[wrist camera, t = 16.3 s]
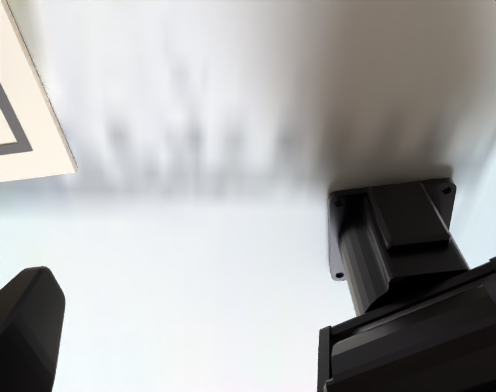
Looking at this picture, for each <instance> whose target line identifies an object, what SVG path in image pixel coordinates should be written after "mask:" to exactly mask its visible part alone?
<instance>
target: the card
mask: <svg viewBox="0 0 496 392" xmlns="http://www.w3.org/2000/svg"><path fill="white" fill-rule="evenodd" d="M77 168H78V167H77V165H76V163H75V160H74V158H73V156H72V153H71V151H70V149H69V146H68V144H67V142H66V139H65V137H64V135H63V132H62V130H61V128H60V125H59V123H58V121H57V118H56V116H55V114H54V111H53V109H52V107H51V104H50V102H49V100H48V97H47V95H46V93H45V90H44V88H43V86H42V83H41V81H40V79H39V76H38V74H37V72H36V69H35V67H34V65H33V62H32V60H31V58H30V55H29V53H28V51H27V48H26V46H25V44H24V41H23V39H22V37H21V35H20V32H19V30H18V28H17V25H16V23H15V21H14V18H13V16H12V14H11V11H10V9H9V7H8V4H7V2H6V0H0V182H5V181H13V180H20V179H28V178H36V177H44V176H52V175H60V174H68V173H76V171H77Z"/></svg>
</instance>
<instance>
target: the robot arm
mask: <svg viewBox="0 0 496 392" xmlns="http://www.w3.org/2000/svg"><path fill="white" fill-rule="evenodd" d="M444 187H448V188H446V189H444V190H442V189H443V188H444ZM455 194H456V185H455V184H454V182H453V181H452V180H451V179H449V178H442V179H434V180H425V181H417V182H409V183H401V184H392V185H384V186H376V187H367V188H359V189H351V190H343V191H336V192H333V193H332V194H330V196H329V198H328V216H329V251H330V273H331V277H332V279H333V280H335V281H344V280H347V282H348V286H349V290H350V294H351V297H352V301H353V305H354V309H355V312H356V316H357V317H354V318H352V319H350V320H347V321H345V322H342V323H340V324H338V325H335V326H333V327H331V326H327V327H325V328H323V329H320V331H319V347H318V381H317V392H496V257H494V258H491V259H489V261H490V262H487V263H485V264H483V265H480V266H478V267H475V268H473V269H470V268H469V266H468V264H467V262H466V261H465V259H464V257H463V255H462V253H461V252H460V250H459V248H458V246H457V244H456V243H455V241H454V239H453V237H452V236H451V234H450V232H449V227H450V221H451V216H452V211H453V205H454V200H455ZM336 200H341V201H340V202H335V201H336ZM339 272H341V273H339ZM64 312H65V296H64V293H63V291H62V289H61V288H60V286H59V284H58V282H57V281H56V279H55V277H54V275H53V274H52V272H51V270H50V269H49V268H48V267H45V266H40V267H31V268H26V269H24V270H22V271H21V272H20V273H19V274H18V275H16V276H15V277H14V278H13V279H12V280H11V281H10V282H9V283H8V284H6V285H5V286H4V287H3V288H2V289H1V290H0V392H52V388H53V384H54V379H55V374H56V368H57V361H58V354H59V347H60V340H61V333H62V326H63V319H64Z"/></svg>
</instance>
